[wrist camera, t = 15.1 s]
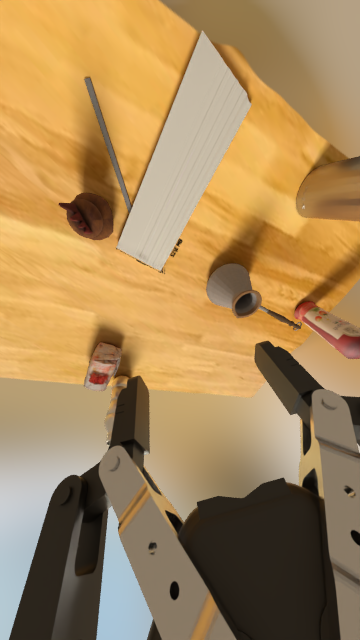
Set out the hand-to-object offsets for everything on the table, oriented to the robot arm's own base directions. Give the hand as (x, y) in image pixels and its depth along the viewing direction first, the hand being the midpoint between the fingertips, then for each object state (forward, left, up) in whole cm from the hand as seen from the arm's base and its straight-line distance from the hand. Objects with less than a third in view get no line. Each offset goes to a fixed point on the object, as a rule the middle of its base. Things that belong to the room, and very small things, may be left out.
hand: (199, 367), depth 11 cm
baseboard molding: (-6, -11, -33) cm, 35 cm away
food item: (+26, +26, -33) cm, 49 cm away
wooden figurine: (+10, -10, -33) cm, 36 cm away
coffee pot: (-18, +14, -33) cm, 40 cm away
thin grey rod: (+4, -16, -33) cm, 37 cm away
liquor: (-40, +28, -33) cm, 59 cm away
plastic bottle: (+26, +38, -33) cm, 57 cm away
